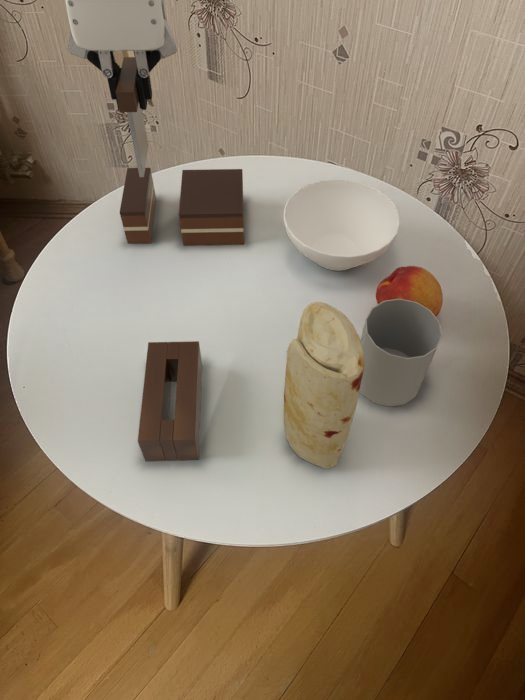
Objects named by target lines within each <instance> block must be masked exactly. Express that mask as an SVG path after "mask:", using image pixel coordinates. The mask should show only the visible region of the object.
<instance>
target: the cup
mask: <svg viewBox="0 0 525 700" xmlns="http://www.w3.org/2000/svg"><path fill="white" fill-rule="evenodd" d="M442 331H443V330H442V327H441V321H439V319H438V318H437V316H436V317H435V315H434V314H433V313H432V312H431V310H429V309H427V308H426V307H424V306H422V305H421V304H419V303H417V302H414V301H409V300H404V299H394V300H386V301H383V302H381V303H380V304H378V303H377V304H376V305H375V306H373V307H372V308H371V309H370V310H369V312H368V314H367V316H366V318H365V320H364V325H363V328H362V332H361V336H360V341H361V344H362V348H363V352H364V372H363V376H362V380H361V385H360V391H359V394H361V395H362V396H363V397H365V398H366V399H367V400H369V401H370V402H372V403H373V404H377V405H381V406H385V407H388V408H391V407H397V406H404V405H406V404H407V403H409V402H411V401H412V400H414V398H416V397H417V396H418V393H419V392H420V391H419V390H420V389H421V386H422V384H423V381H424V379H425V377H426V375H427V372H428V370H429V368H430V365H431V364H432V361H433V358H434V357H435V355H436V352H437V350H438V347H439V345H440V342H441V341H442V338H443V332H442Z"/></svg>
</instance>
